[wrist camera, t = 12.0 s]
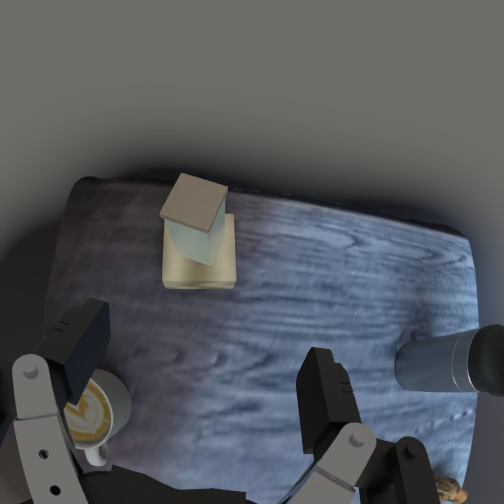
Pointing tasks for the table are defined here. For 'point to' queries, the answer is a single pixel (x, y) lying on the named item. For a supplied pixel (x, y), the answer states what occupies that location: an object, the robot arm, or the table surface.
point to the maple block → (200, 264)
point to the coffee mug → (99, 415)
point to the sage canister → (196, 218)
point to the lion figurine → (450, 490)
